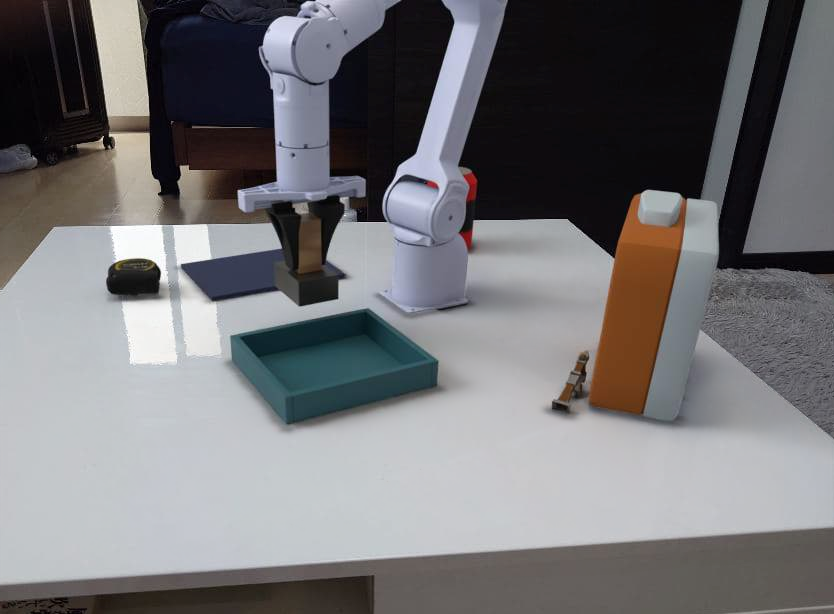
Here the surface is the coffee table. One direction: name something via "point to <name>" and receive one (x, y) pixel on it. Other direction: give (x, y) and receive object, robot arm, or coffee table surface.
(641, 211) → the orange and white box
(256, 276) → the pad
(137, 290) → the tape measure
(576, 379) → the wooden post with brackets
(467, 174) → the soda can
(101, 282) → the coffee table surface
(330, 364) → the tray
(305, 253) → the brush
